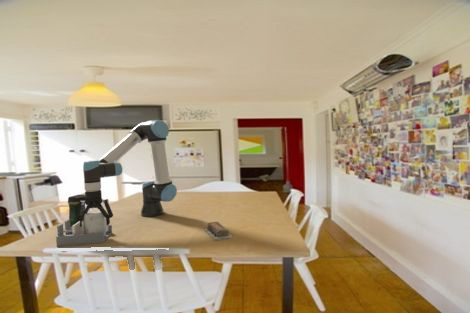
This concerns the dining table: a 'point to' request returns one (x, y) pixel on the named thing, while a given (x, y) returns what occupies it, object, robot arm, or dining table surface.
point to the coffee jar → (75, 207)
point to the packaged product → (217, 231)
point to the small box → (94, 222)
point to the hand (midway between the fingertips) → (95, 231)
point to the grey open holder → (75, 229)
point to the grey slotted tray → (79, 236)
